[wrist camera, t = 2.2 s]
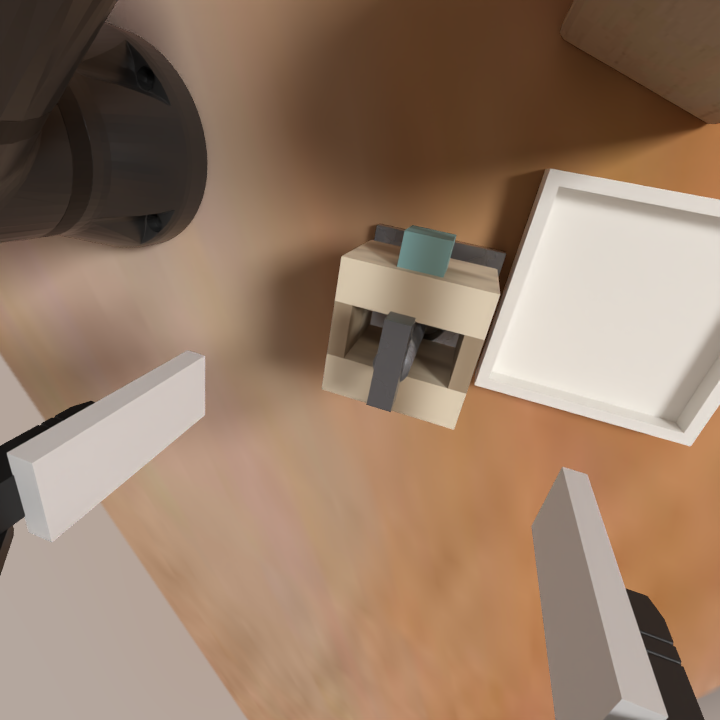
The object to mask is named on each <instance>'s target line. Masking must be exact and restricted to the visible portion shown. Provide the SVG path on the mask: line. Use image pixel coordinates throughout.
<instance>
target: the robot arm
mask: <svg viewBox="0 0 720 720" xmlns="http://www.w3.org/2000/svg"><path fill="white" fill-rule="evenodd" d="M116 2H117V0H0V243H5V242H12V241H19V240H26V239H33V238H39V237H47V236H54V235H60V236H65V237H70V238H75V239H80V240H85V241H90V242H95V243H100V244H106V245H111V246H116V247H125V248H135V247H143V246H148V245H153V244H158V243H162V242H165V241H167V240H170V239H172V238H173V237H175V236H177V235H178V234H179V233H181V232H182V231H183V230H184V229H185V228H186V227H187V226H188V225H189V223H190V222H191V221H192V219H193V218H194V216H195V214H196V213H197V210H198V208H199V206H200V204H201V201H202V198H203V194H204V190H205V185H206V177H207V151H206V143H205V137H204V132H203V128H202V124H201V120H200V117H199V114H198V111H197V109H196V106H195V104H194V101H193V99H192V97H191V95H190V93H189V91H188V89H187V87H186V85H185V84H184V82H183V80H182V79H181V77H180V76H179V74H178V73H177V71H176V70H175V69H174V68H173V66H172V65H171V64H170V63H169V61H168V60H167V59H166V58H165V57H164V56H163V55H162V54H161V53H160V52H159V51H158V50H157V49H156V48H154V47H153V46H152V45H151V44H149V43H148V42H147V41H145V40H144V39H142V38H141V37H139V36H137V35H135V34H133V33H131V32H128V31H126V30H123V29H121V28H118V27H116V26H113V25H111V24H108V23H106V22H105V20H106V19H107V17H108V15H109V14H110V12H111V10H112V9H113V7H114V5H115V4H116ZM203 416H205V356H204V355H201V354H198V353H195V352H192V351H188V350H187V351H185V352H184V353H182V354H180V355H178V356H177V357H175V358H173V359H171V360H169V361H168V362H166V363H164V364H162V365H161V366H159V367H157V368H155V369H154V370H152V371H150V372H148V373H147V374H145V375H143V376H141V377H140V378H138V379H136V380H134V381H132V382H131V383H129V384H127V385H125V386H124V387H122V388H120V389H118V390H117V391H115V392H113V393H111V394H110V395H108V396H106V397H104V398H103V399H101V400H99V401H97V402H93V401H89V402H86V403H83V404H79V405H76V406H73V407H70V408H69V409H67V410H65V411H63V412H61V413H59V414H58V415H56V416H55V418H50V419H48V420H47V421H45V422H43V423H42V424H41V425H40V426H39V425H38V426H36V427H34V428H32V429H30V430H28V431H26V432H25V433H23V434H21V435H19V436H17V437H15V438H14V439H12V440H10V441H8V442H6V443H4V444H3V445H1V446H0V575H1V572H2V569H3V566H4V562H5V560H6V556H7V553H8V551H9V548H10V544H11V542H12V539H13V535H14V528H13V525H14V524H15V523H16V522H18V521H19V520H20V519H22V518H23V517H25V520H26V524H27V527H28V531H29V532H30V533H32V534H34V535H36V536H39V537H41V538H43V539H45V540H48V541H50V542H53V541H54V540H55V539H57V538H58V537H59V536H60V535H61V534H63V533H64V532H65V531H66V530H67V529H69V528H70V527H71V526H72V525H73V524H74V523H76V522H77V521H78V520H79V519H80V518H82V517H83V516H84V515H85V514H86V513H88V512H89V511H90V510H91V509H93V508H94V507H95V506H96V505H97V504H98V503H100V502H101V501H102V500H103V499H105V498H106V497H107V496H108V495H109V494H111V493H112V492H113V491H114V490H115V489H117V488H118V487H119V486H120V485H121V484H123V483H124V482H125V481H126V480H128V479H129V478H130V477H131V476H132V475H134V474H135V473H136V472H137V471H138V470H140V469H141V468H142V467H143V466H144V465H146V464H147V463H148V462H149V461H150V460H152V459H153V458H154V457H155V456H156V455H158V454H159V453H160V452H161V451H162V450H164V449H165V448H166V447H167V446H168V445H170V444H171V443H172V442H173V441H174V440H176V439H177V438H178V437H179V436H180V435H182V434H183V433H184V432H185V431H186V430H188V429H189V428H190V427H191V426H192V425H194V424H195V423H196V422H197V421H198V420H200V419H201V418H202V417H203ZM532 534H533V542H534V550H535V558H536V566H537V574H538V582H539V590H540V599H541V607H542V615H543V623H544V631H545V639H546V647H547V655H548V663H549V671H550V679H551V687H552V695H553V703H554V711H555V719H556V720H704V717H703V715H702V712H701V710H700V707H699V705H698V702H697V700H696V697H695V695H694V692H693V690H692V687H691V685H690V682H689V680H688V677H687V675H686V672H685V670H684V667H683V666H681V660H680V657H679V655H678V652H677V650H676V647H674V646H673V640H672V637H671V635H670V632H669V630H668V627H667V625H666V622H665V620H664V618H663V617H662V615H661V614H660V613H659V611H658V610H657V608H656V607H655V606H654V604H653V603H652V602H651V600H650V599H649V598H648V596H646V595H643V594H640V593H637V592H634V591H631V590H629V589H626V588H625V586H624V583H623V580H622V577H621V574H620V571H619V568H618V565H617V562H616V559H615V556H614V553H613V550H612V547H611V544H610V541H609V538H608V535H607V532H606V529H605V526H604V523H603V520H602V517H601V514H600V511H599V508H598V505H597V502H596V499H595V496H594V493H593V490H592V487H591V484H590V481H589V478H588V475H587V474H584V473H581V472H578V471H575V470H571V469H568V468H565V467H562V468H561V470H560V472H559V474H558V476H557V478H556V480H555V482H554V484H553V486H552V488H551V490H550V491H549V493H548V495H547V497H546V499H545V501H544V503H543V505H542V507H541V509H540V511H539V513H538V515H537V517H536V518H535V520H534V522H533V524H532Z"/></svg>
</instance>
